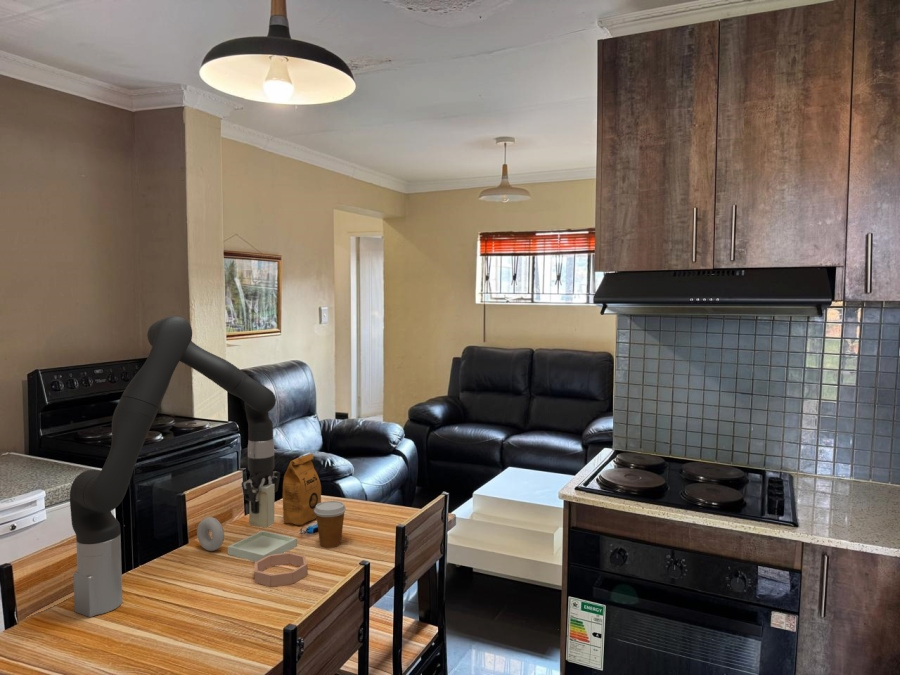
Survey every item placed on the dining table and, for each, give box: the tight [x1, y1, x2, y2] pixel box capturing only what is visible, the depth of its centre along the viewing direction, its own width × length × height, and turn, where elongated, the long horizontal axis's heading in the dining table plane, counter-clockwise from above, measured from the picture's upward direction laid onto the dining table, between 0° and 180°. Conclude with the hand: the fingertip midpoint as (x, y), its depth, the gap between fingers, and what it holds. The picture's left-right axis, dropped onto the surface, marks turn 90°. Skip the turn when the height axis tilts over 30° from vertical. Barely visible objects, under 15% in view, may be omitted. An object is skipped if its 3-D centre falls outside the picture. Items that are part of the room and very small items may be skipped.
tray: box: [227, 530, 298, 563], centre depth 179 cm, size 14×14×2 cm
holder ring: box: [253, 551, 308, 588], centre depth 163 cm, size 14×14×3 cm
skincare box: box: [248, 483, 276, 529], centre depth 179 cm, size 6×4×12 cm
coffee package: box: [282, 453, 322, 525], centre depth 204 cm, size 10×12×22 cm
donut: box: [196, 516, 225, 552], centre depth 179 cm, size 10×4×10 cm, turn 61°
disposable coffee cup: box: [314, 500, 347, 549], centre depth 184 cm, size 10×10×12 cm
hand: (262, 510), depth 179 cm, fingers closed on skincare box, 4 cm apart
